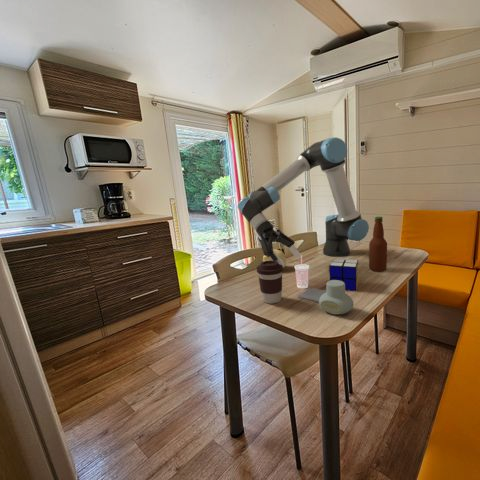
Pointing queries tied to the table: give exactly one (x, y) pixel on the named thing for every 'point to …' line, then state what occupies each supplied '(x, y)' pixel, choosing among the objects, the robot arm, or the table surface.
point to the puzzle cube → (345, 272)
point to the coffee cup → (270, 281)
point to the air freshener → (336, 298)
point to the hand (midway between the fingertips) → (291, 262)
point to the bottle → (378, 248)
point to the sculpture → (278, 255)
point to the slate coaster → (312, 294)
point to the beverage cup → (302, 274)
